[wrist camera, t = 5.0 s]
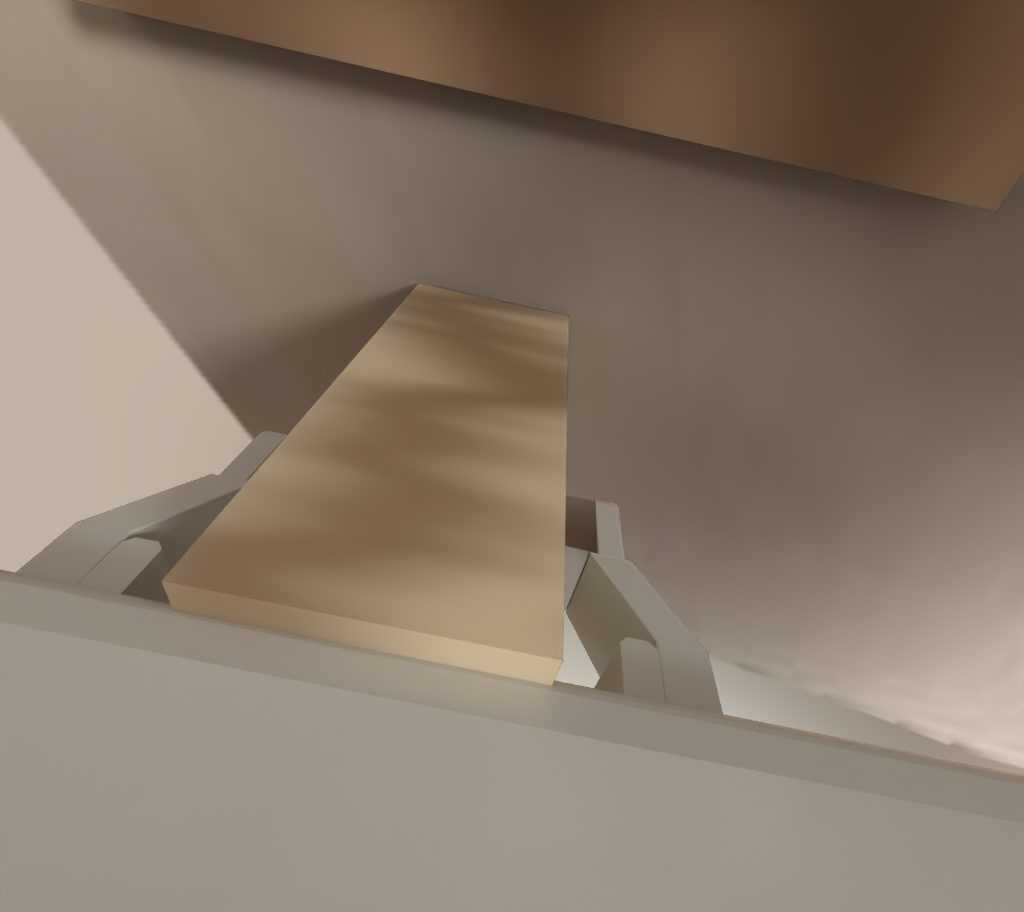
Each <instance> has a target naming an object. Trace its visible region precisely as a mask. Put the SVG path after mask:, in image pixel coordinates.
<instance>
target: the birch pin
mask: <svg viewBox="0 0 1024 912" xmlns="http://www.w3.org/2000/svg"><path fill="white" fill-rule="evenodd" d="M568 337H569V316H567V315H562V314H558V313H553V312H548V311H544V310H539V309H535V308H530V307H526V306H521V305H516V304H512V303H507V302H503V301H498V300H493V299H489V298H484V297H480V296H475V295H470V294H466V293H461V292H457V291H452V290H448V289H443V288H438V287H434V286H429V285H425V284H420V283H419V284H418V285H417V286H416V287H415V288H414V289H413V291H412V292H411V293H410V294H409V295H408V296H407V297H406V299H405V300H404V301H403V302H402V303H401V304H400V306H399V307H398V308H397V309H396V310H395V311H394V313H393V314H392V315H391V316H390V317H389V318H388V319H387V321H386V322H385V323H384V324H383V325H382V326H381V328H380V329H379V330H378V331H377V332H376V333H375V335H374V336H373V337H372V338H371V339H370V340H369V341H368V343H367V344H366V345H365V346H364V347H363V348H362V350H361V351H360V352H359V353H358V354H357V355H356V356H355V358H354V359H353V360H352V361H351V362H350V363H349V365H348V366H347V367H346V368H345V369H344V370H343V372H342V373H341V374H340V375H339V376H338V377H337V378H336V380H335V381H334V382H333V383H332V384H331V385H330V387H329V388H328V389H327V390H326V391H325V392H324V394H323V395H322V396H321V397H320V398H319V399H318V400H317V402H316V403H315V404H314V405H313V406H312V407H311V409H310V410H309V411H308V412H307V413H306V414H305V416H304V417H303V418H302V419H301V420H300V421H299V422H298V424H297V425H296V426H295V427H294V428H293V429H292V431H291V432H290V433H289V434H288V435H287V436H286V438H285V439H284V440H283V441H282V442H281V443H280V444H279V446H278V447H277V448H276V449H275V450H274V451H273V453H272V454H271V455H270V456H269V457H268V458H267V459H266V461H265V462H264V463H263V464H262V465H261V466H260V468H259V469H258V470H257V471H256V472H255V473H254V475H253V476H252V477H251V478H250V479H249V480H248V481H247V483H246V484H245V485H244V486H243V487H242V488H241V490H240V491H239V492H238V493H237V494H236V495H235V497H234V498H233V499H232V500H231V501H230V502H229V503H228V505H227V506H226V507H225V508H224V509H223V510H222V512H221V513H220V514H219V515H218V516H217V517H216V519H215V520H214V521H213V522H212V523H211V524H210V525H209V527H208V528H207V529H206V530H205V531H204V532H203V534H202V535H201V536H200V537H199V538H198V539H197V540H196V542H195V543H194V544H193V545H192V546H191V547H190V549H189V550H188V551H187V552H186V553H185V554H184V556H183V557H182V558H181V559H180V560H179V561H178V562H177V564H176V565H175V566H174V567H173V568H172V569H171V571H170V572H169V573H168V574H167V575H166V576H165V578H164V579H163V580H162V584H163V586H164V589H165V591H166V594H167V596H168V599H169V602H170V604H171V607H172V609H173V611H178V612H183V613H188V614H193V615H198V616H204V617H209V618H214V619H219V620H224V621H229V622H234V623H239V624H244V625H249V626H254V627H259V628H264V629H269V630H274V631H279V632H284V633H289V634H294V635H300V636H305V637H310V638H315V639H320V640H325V641H330V642H335V643H340V644H345V645H350V646H355V647H360V648H365V649H370V650H375V651H380V652H385V653H390V654H395V655H401V656H406V657H411V658H416V659H421V660H426V661H431V662H436V663H441V664H446V665H451V666H456V667H461V668H466V669H471V670H476V671H481V672H486V673H491V674H496V675H501V676H506V677H511V678H517V679H522V680H527V681H532V682H537V683H542V684H547V685H552V684H553V682H554V680H555V677H556V675H557V673H558V671H559V669H560V666H561V664H562V662H563V634H564V575H565V516H566V456H567V397H568Z"/></svg>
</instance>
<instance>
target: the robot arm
mask: <svg viewBox="0 0 1024 912" xmlns="http://www.w3.org/2000/svg"><path fill="white" fill-rule="evenodd" d="M286 436H287V435H286V434H282V433H277V432H273V431H268V430H267V431H264V432H261V433H260V434H259V435H258V436H257V437H256V438H255V439H254V440H253V441H252V442H251V443H250V444H249V445H248V447H246V448H245V449H244V450H243V452H241V454H239V456H238V457H237V458H236V459H235V460H234V461H233V462H232V463H231V464H230V465H229V466H228V467H227V468H226V469H225V470H224V471H223V472H222V473H221V474H220V475H214V474H211V475H208V476H205V477H202V478H200V479H197V480H194V481H191V482H188V483H185V484H183V485H180V486H177V487H174V488H171V489H169V490H166V491H163V492H160V493H157V494H155V495H152V496H149V497H147V498H143V499H141V500H138V501H135V502H132V503H129V504H127V505H124V506H121V507H118V508H115V509H113V510H110V511H107V512H104V513H102V514H99V515H96V516H93V517H90V518H87V519H85V520H82V521H79V522H76V523H75V524H73V525H72V526H71V527H70V528H69V529H67V531H65V532H64V533H63V534H62V535H60V536H59V537H58V538H57V539H55V540H54V541H53V542H52V543H51V544H49V545H48V546H47V547H46V548H45V549H43V550H42V551H41V552H40V553H39V554H37V555H36V556H35V557H34V558H33V559H31V560H30V561H29V562H28V563H27V564H25V565H24V566H23V567H22V568H20V569H19V570H18V571H17V572H16V573H14V572H9V571H4V570H0V912H1024V774H1020V773H1014V772H1009V771H1004V770H999V769H994V768H989V767H983V766H979V765H974V764H969V763H964V762H959V761H953V760H948V759H943V758H938V757H933V756H928V755H923V754H918V753H913V752H908V751H903V750H898V749H893V748H888V747H883V746H878V745H873V744H868V743H863V742H858V741H852V740H848V739H843V738H838V737H833V736H828V735H823V734H818V733H813V732H808V731H803V730H798V729H793V728H788V727H783V726H778V725H773V724H768V723H763V722H758V721H753V720H748V719H743V718H738V717H733V716H728V715H723V712H722V708H721V704H720V700H719V696H718V692H717V687H716V683H715V679H714V675H713V672H712V667H711V663H710V659H709V655H708V652H707V650H706V649H705V648H704V647H703V646H702V644H701V643H700V642H699V641H698V640H697V639H696V637H695V636H694V635H693V634H692V633H691V631H690V630H689V629H688V628H687V627H686V625H685V624H684V623H683V622H682V621H681V619H680V618H679V617H678V616H677V615H676V613H675V612H674V611H673V610H672V609H671V608H670V606H669V605H668V604H667V603H666V602H665V600H664V599H663V598H662V597H661V596H660V594H659V593H658V592H657V591H656V590H655V588H654V587H653V586H652V585H651V584H650V582H649V581H648V580H647V579H646V578H645V577H644V575H643V574H642V573H641V572H640V571H639V569H638V568H637V567H636V566H635V565H634V563H633V562H632V561H629V560H625V557H624V549H623V541H622V532H621V524H620V516H619V507H618V505H617V504H616V503H612V502H606V501H601V500H595V499H594V500H592V499H587V498H583V497H578V496H573V495H568V494H566V516H565V575H564V610H566V613H567V615H568V617H569V619H570V621H571V623H572V625H573V626H574V629H575V630H576V632H577V634H578V636H579V638H580V640H581V642H582V644H583V646H584V648H585V650H586V652H587V653H588V655H589V657H590V659H591V661H592V663H593V665H594V667H595V669H596V670H597V672H598V674H599V676H600V679H599V681H598V682H597V684H596V686H595V688H589V687H584V686H579V685H574V684H568V683H564V682H559V681H554V682H553V684H552V685H547V684H542V683H537V682H532V681H527V680H522V679H517V678H511V677H506V676H501V675H496V674H491V673H486V672H481V671H476V670H471V669H466V668H461V667H456V666H451V665H446V664H441V663H436V662H431V661H426V660H421V659H416V658H411V657H406V656H401V655H395V654H390V653H385V652H380V651H375V650H370V649H365V648H360V647H355V646H350V645H345V644H340V643H335V642H330V641H325V640H320V639H315V638H310V637H305V636H300V635H294V634H289V633H284V632H279V631H274V630H269V629H264V628H259V627H254V626H249V625H244V624H239V623H234V622H229V621H224V620H219V619H214V618H209V617H204V616H198V615H193V614H188V613H183V612H178V611H173V609H172V607H171V604H170V602H169V599H168V596H167V594H166V591H165V589H164V586H163V584H162V580H163V579H164V578H165V576H166V575H167V574H168V573H169V572H170V571H171V569H172V568H173V567H174V566H175V565H176V564H177V562H178V561H179V560H180V559H181V558H182V557H183V556H184V554H185V553H186V552H187V551H188V550H189V549H190V547H191V546H192V545H193V544H194V543H195V542H196V540H197V539H198V538H199V537H200V536H201V535H202V534H203V532H204V531H205V530H206V529H207V528H208V527H209V525H210V524H211V523H212V522H213V521H214V520H215V519H216V517H217V516H218V515H219V514H220V513H221V512H222V510H223V509H224V508H225V507H226V506H227V505H228V503H229V502H230V501H231V500H232V499H233V498H234V497H235V495H236V494H237V493H238V492H239V491H240V490H241V488H242V487H243V486H244V485H245V484H246V483H247V481H248V480H249V479H250V478H251V477H252V476H253V475H254V473H255V472H256V471H257V470H258V469H259V468H260V466H261V465H262V464H263V463H264V462H265V461H266V459H267V458H268V457H269V456H270V455H271V454H272V453H273V451H274V450H275V449H276V448H277V447H278V446H279V444H280V443H281V442H282V441H283V440H284V439H285V438H286Z"/></svg>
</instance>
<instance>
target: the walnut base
mask: <svg viewBox="0 0 1024 912" xmlns="http://www.w3.org/2000/svg"><path fill="white" fill-rule="evenodd" d="M76 1H80V2H85V3H89V4H93V5H98V6H102V7H106V8H111V9H115V10H119V11H124V12H128V13H132V14H137V15H141V16H145V17H150V18H154V19H159V20H163V21H167V22H172V23H176V24H180V25H185V26H189V27H193V28H198V29H202V30H206V31H211V32H215V33H220V34H224V35H228V36H233V37H237V38H241V39H246V40H250V41H254V42H259V43H263V44H267V45H272V46H276V47H281V48H285V49H289V50H294V51H298V52H302V53H307V54H311V55H315V56H320V57H324V58H328V59H333V60H337V61H342V62H346V63H350V64H355V65H359V66H363V67H368V68H372V69H376V70H381V71H385V72H389V73H394V74H398V75H403V76H407V77H411V78H416V79H420V80H424V81H429V82H433V83H437V84H442V85H446V86H450V87H455V88H459V89H464V90H468V91H472V92H477V93H481V94H485V95H490V96H494V97H498V98H503V99H507V100H511V101H516V102H520V103H525V104H529V105H533V106H538V107H542V108H546V109H551V110H555V111H559V112H564V113H568V114H572V115H577V116H581V117H586V118H590V119H594V120H599V121H603V122H607V123H612V124H616V125H620V126H625V127H629V128H633V129H638V130H642V131H647V132H651V133H655V134H660V135H664V136H668V137H673V138H677V139H681V140H686V141H690V142H694V143H699V144H703V145H708V146H712V147H716V148H721V149H725V150H729V151H734V152H738V153H742V154H747V155H751V156H755V157H760V158H764V159H769V160H773V161H777V162H782V163H786V164H790V165H795V166H799V167H803V168H808V169H812V170H816V171H821V172H825V173H830V174H834V175H838V176H843V177H847V178H851V179H856V180H860V181H864V182H869V183H873V184H877V185H882V186H886V187H891V188H895V189H899V190H904V191H908V192H912V193H917V194H921V195H925V196H930V197H934V198H938V199H943V200H947V201H952V202H956V203H960V204H965V205H969V206H973V207H978V208H982V209H986V210H991V211H995V212H996V211H997V210H998V209H999V207H1000V206H1001V204H1002V203H1003V202H1004V200H1005V199H1006V197H1007V196H1008V195H1009V193H1010V192H1011V190H1012V189H1013V188H1014V186H1015V185H1016V183H1017V182H1018V181H1019V179H1020V178H1021V176H1022V175H1023V174H1024V0H76Z"/></svg>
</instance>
